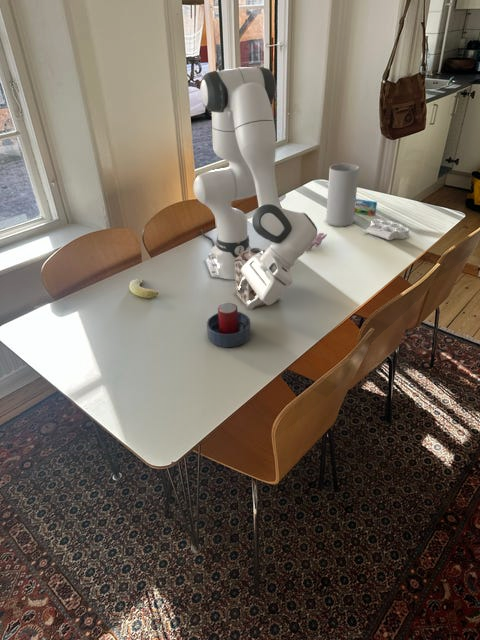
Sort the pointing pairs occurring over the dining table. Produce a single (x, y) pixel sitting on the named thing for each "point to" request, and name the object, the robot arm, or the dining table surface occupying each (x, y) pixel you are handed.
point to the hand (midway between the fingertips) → (243, 299)
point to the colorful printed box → (365, 207)
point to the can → (228, 318)
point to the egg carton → (387, 229)
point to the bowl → (229, 339)
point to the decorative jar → (238, 263)
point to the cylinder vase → (342, 194)
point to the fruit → (141, 289)
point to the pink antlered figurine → (317, 240)
